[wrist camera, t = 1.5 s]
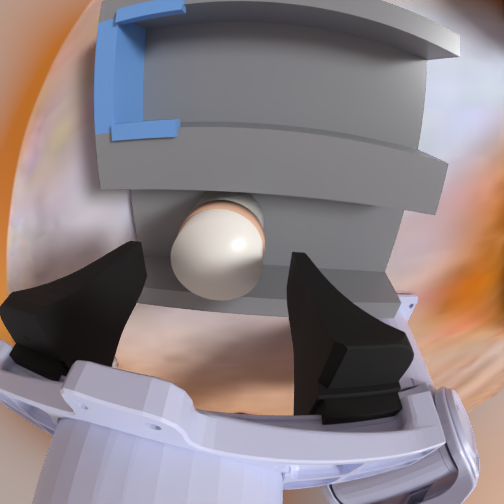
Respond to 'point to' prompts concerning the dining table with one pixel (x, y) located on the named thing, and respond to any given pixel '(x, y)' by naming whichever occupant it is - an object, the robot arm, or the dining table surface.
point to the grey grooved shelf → (270, 132)
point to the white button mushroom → (220, 246)
